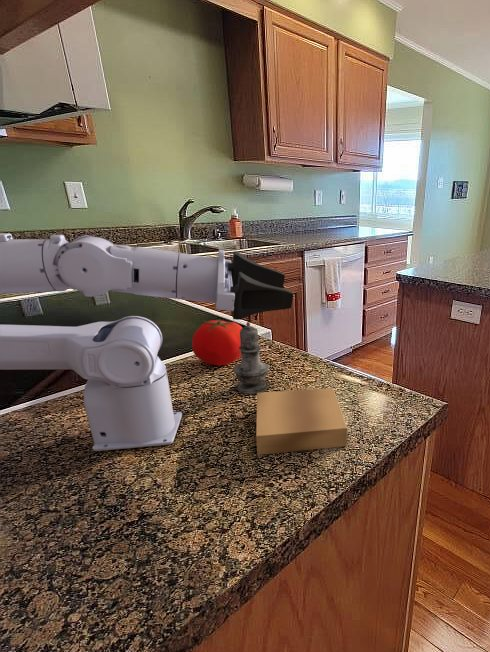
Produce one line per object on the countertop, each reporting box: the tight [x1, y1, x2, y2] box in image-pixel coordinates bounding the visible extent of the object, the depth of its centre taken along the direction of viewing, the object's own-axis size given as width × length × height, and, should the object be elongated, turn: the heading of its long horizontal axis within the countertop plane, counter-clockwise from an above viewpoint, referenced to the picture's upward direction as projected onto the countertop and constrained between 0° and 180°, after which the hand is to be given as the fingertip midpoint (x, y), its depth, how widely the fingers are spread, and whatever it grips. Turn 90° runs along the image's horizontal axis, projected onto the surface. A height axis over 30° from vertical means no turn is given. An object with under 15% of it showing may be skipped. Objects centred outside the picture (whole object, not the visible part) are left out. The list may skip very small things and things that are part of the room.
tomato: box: [191, 319, 243, 367], centre depth 77 cm, size 9×10×8 cm
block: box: [255, 387, 348, 456], centre depth 58 cm, size 12×12×3 cm
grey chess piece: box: [232, 321, 270, 395], centre depth 67 cm, size 6×6×12 cm
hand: (287, 290), depth 55 cm, fingers open, 7 cm apart
